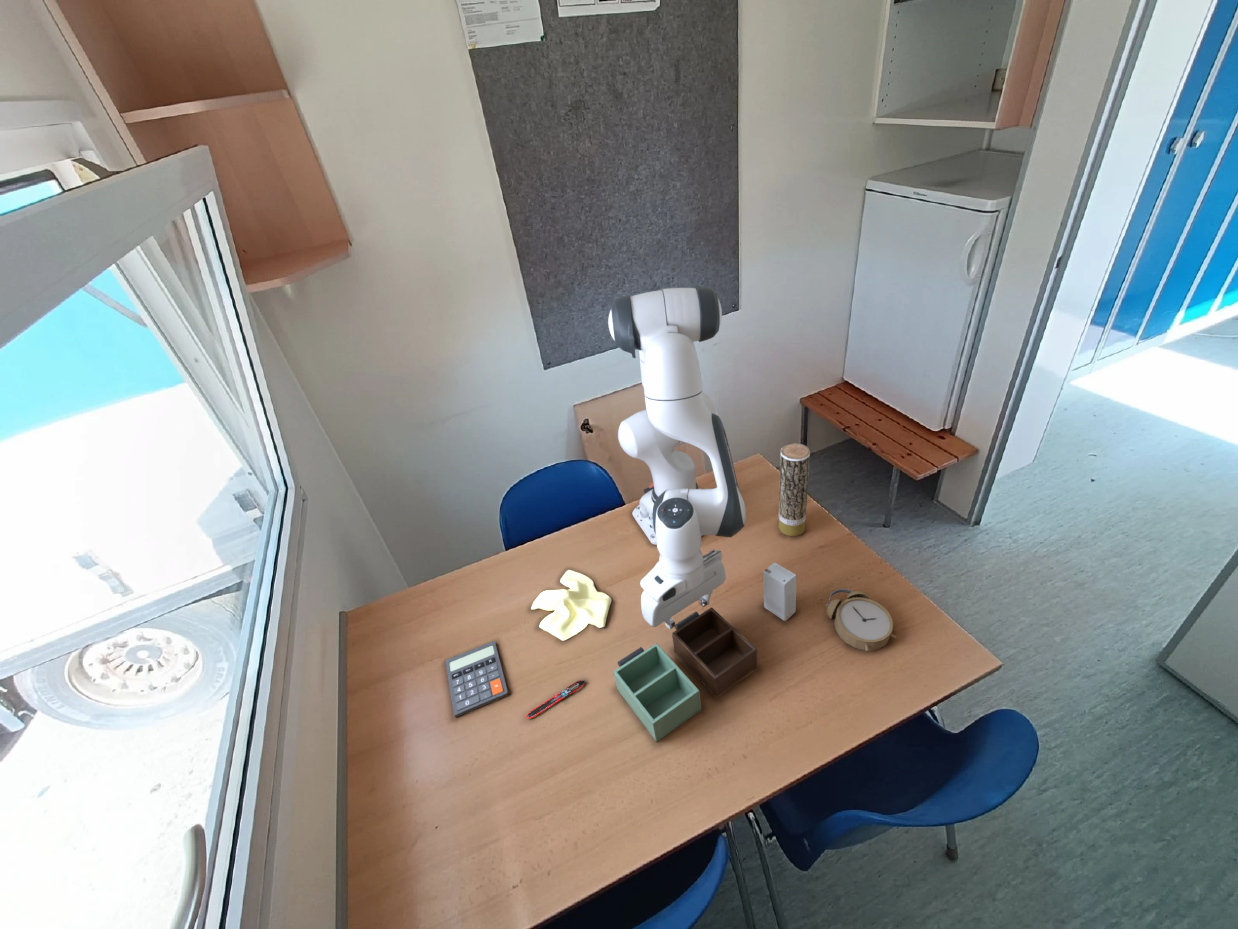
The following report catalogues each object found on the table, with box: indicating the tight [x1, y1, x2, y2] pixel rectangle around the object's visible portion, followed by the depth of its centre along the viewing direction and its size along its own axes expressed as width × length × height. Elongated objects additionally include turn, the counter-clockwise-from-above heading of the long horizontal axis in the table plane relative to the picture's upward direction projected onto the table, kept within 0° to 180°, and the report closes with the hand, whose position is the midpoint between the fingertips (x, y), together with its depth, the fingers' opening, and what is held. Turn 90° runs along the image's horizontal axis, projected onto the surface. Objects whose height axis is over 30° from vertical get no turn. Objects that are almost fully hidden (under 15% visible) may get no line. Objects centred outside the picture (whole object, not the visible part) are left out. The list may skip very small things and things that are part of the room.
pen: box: [525, 679, 586, 719], centre depth 118 cm, size 2×14×1 cm, turn 122°
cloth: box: [530, 569, 612, 642], centre depth 137 cm, size 22×19×6 cm
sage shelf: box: [612, 643, 702, 743], centre depth 114 cm, size 17×11×6 cm, turn 33°
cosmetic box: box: [762, 561, 797, 622], centre depth 125 cm, size 6×4×12 cm
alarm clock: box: [825, 588, 897, 652], centre depth 122 cm, size 11×5×15 cm
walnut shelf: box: [671, 607, 758, 698], centre depth 120 cm, size 17×11×6 cm, turn 33°
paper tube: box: [777, 442, 811, 537], centre depth 142 cm, size 7×7×25 cm
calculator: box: [445, 640, 509, 718], centre depth 125 cm, size 12×1×15 cm
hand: (687, 615), depth 123 cm, fingers open, 8 cm apart
